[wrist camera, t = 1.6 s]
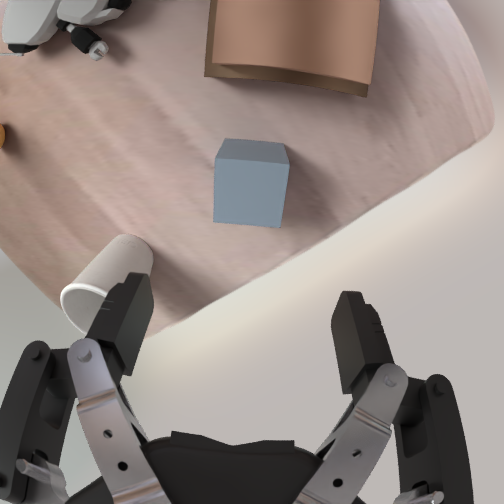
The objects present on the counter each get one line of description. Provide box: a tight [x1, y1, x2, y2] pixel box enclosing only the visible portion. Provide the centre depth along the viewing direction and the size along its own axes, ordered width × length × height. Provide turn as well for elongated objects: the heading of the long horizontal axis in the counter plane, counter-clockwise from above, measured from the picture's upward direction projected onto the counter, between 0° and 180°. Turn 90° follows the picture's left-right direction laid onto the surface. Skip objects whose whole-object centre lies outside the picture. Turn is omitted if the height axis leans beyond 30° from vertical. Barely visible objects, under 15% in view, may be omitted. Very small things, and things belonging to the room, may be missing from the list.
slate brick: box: [213, 138, 290, 228], centre depth 22 cm, size 5×5×6 cm
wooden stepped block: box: [204, 0, 380, 98], centre depth 14 cm, size 12×12×6 cm
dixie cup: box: [60, 234, 154, 335], centre depth 26 cm, size 8×8×10 cm
